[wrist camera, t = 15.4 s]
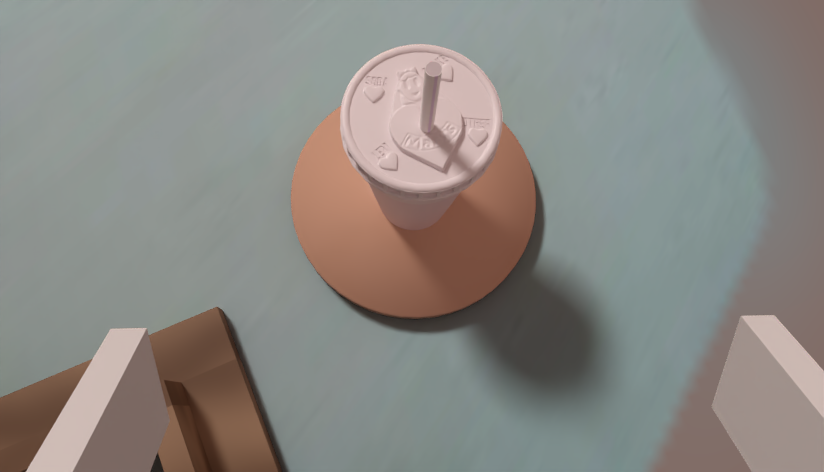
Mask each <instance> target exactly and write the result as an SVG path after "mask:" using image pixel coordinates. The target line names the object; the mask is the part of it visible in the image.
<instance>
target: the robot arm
mask: <svg viewBox="0 0 824 472" xmlns="http://www.w3.org/2000/svg"><path fill="white" fill-rule="evenodd" d="M712 408H713V410H714V411H715V413H716V415H717V416H718V418H719V419H720V421H721V423H722V424H723V426H724V427H725V429H726V431H727V432H728V434H729V436H730V437H731V439H732V440H733V442H734V444H735V445H736V447H737V448H738V450H739V452H740V453H741V455H742V457H743V458H744V460H745V461H746V463H747V465H748V466H749V468H750V469H751V471H752V472H824V371H823V370H822V369H821V368H820V366H819V365H818V364H817V363H816V362H815V361H814V360H813V358H812V357H811V356H810V355H809V354H808V353H807V352H806V351H805V350H804V349H803V347H802V346H801V345H800V344H799V343H798V342H797V340H796V339H795V338H794V337H793V336H792V335H791V334H790V333H789V331H788V330H787V329H786V328H785V327H784V326H783V325H782V324H781V323H780V321H779V320H778V319H777V318H776V317H775V316H774V315H762V316H741V317H740V320H739V323H738V326H737V329H736V332H735V335H734V339H733V342H732V345H731V348H730V351H729V354H728V357H727V360H726V363H725V367H724V370H723V373H722V376H721V379H720V382H719V385H718V388H717V391H716V394H715V398H714V401H713V404H712ZM169 422H170V419H169V415H168V411H167V407H166V403H165V399H164V395H163V391H162V387H161V383H160V379H159V375H158V371H157V367H156V363H155V359H154V355H153V351H152V347H151V343H150V339H149V335H148V331H147V328H126V329H110V331H109V333H108V334H107V336H106V338H105V339H104V341H103V343H102V344H101V346H100V348H99V349H98V351H97V353H96V354H95V356H94V358H93V359H92V361H91V363H90V365H89V366H88V368H87V370H86V371H85V373H84V375H83V376H82V378H81V380H80V381H79V383H78V385H77V386H76V388H75V390H74V392H73V393H72V395H71V397H70V398H69V400H68V402H67V403H66V405H65V407H64V408H63V410H62V412H61V413H60V415H59V417H58V418H57V420H56V422H55V424H54V425H53V427H52V429H51V430H50V432H49V434H48V435H47V437H46V439H45V440H44V442H43V444H42V445H41V447H40V449H39V450H38V452H37V454H36V456H35V457H34V459H33V461H32V462H31V464H30V466H29V467H28V469H27V471H26V472H150V471H151V468H152V466H153V463H154V460H155V458H156V455H157V453H158V450H159V447H160V445H161V442H162V440H163V437H164V434H165V432H166V429H167V427H168V424H169Z"/></svg>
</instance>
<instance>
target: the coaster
mask: <svg viewBox="0 0 824 472" xmlns="http://www.w3.org/2000/svg"><path fill="white" fill-rule="evenodd" d="M340 112H341V106H340V107H339V108H337V109H336V110H335V111H334V112H332V113H331V114H330V115H329V116H327V118H326V119H325V120H324V121H323V122H322V123H321V124H320V125H319V126H318V127H317V128H316V130H315V131H314V132H313V134H312V135H311V136H310V138H309V139H308V141H307V143H306V145H305V146H304V148H303V150H302V152H301V154H300V157H299V159H298V162H297V165H296V168H295V172H294V176H293V180H292V190H291V208H292V216H293V221H294V227H295V230H296V233H297V236H298V239H299V242H300V244H301V246H302V248H303V250H304V252H305V254H306V256H307V258H308V259H309V261H310V263H311V264H312V265H313V267H314V268H315V270H316V271H317V273H318V274H319V275H320V276H321V277H322V278H323V279H324V281H325V282H326V283H327V284H328V285H329V286H330V287H331V288H333V289H334V290H335V291H336V292H337V293H339V294H340V295H341V296H343V297H344V298H346V299H347V300H349V301H350V302H352V303H354V304H356V305H358V306H360V307H362V308H364V309H366V310H368V311H371V312H375V313H378V314H381V315H384V316H390V317H395V318H402V319H424V318H434V317H439V316H443V315H448V314H451V313H454V312H456V311H459V310H462V309H464V308H466V307H468V306H470V305H472V304H474V303H476V302H478V301H479V300H481V299H482V298H484V297H485V296H486V295H488V294H489V293H491V292H492V291H493V290H494V289H495V288H496V287H497V286H498V285H499V284H500V283H501V282H502V281H503V280H504V279H505V278H506V277H507V275H508V274H509V273H510V272H511V270H512V269H513V268H514V267H515V266H516V264H517V262H518V261H519V259H520V257H521V256H522V254H523V252H524V250H525V248H526V246H527V243H528V241H529V239H530V236H531V232H532V228H533V224H534V218H535V210H536V191H535V185H534V178H533V174H532V171H531V168H530V164H529V162H528V159H527V157H526V155H525V153H524V150H523V148H522V147H521V145H520V144H519V142H518V140H517V139H516V137H515V136H514V134H513V133H512V132H511V131H510V129H509V128H508V127H507V126H506V124H505V123H503V122H502V131H501V136H500V142H499V145H498V148H497V151H496V154H495V157H494V160H493V161H492V162H491V164H490V165H489V167H488V168H487V170H486V171H485V173H484V174H483V175H482V176H481V177H480V178H479V179H478V180H477V181H475V182H474V183H473V184H472V185H471V186H469V187H468V188H467V189H465V190H463V191H461V192H460V193H459V195H458V196H457V197H456V199H455V200H454V201H453V203H452V204H451V205H450V206H449V208H448V209H447V210H446V212H445V213H444V214H443V216H442V217H441V218H440V219H439V220H438V221H437V222H436V223H435V224H433V225H432V226H430V227H428V228H425V229H421V230H406V229H402V228H400V227H397V226H396V225H394V224H392V223H391V222H390V221H389V220H388V219H387V218H386V217H385V215H384V214H383V212H382V210H381V208H380V206H379V204H378V202H377V200H376V198H375V196H374V194H373V192H372V189H371V187H370V185H369V183H368V182H367V181H365V179H364V178H363V177H362V176H361V175H360V174H359V173H358V172H357V171H356V169H355V168H354V167H353V166H352V164H351V162H350V160H349V158H348V156H347V154H346V152H345V150H344V148H343V143H342V137H341V132H340Z"/></svg>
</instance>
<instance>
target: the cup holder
mask: <svg viewBox="0 0 824 472" xmlns="http://www.w3.org/2000/svg"><path fill="white" fill-rule="evenodd" d="M149 339H150V343H151V347H152V351H153V355H154V359H155V363H156V367H157V371H158V375H159V379H160V383H161V387H162V391H163V395H164V399H165V403H166V407H167V411H168V415H169V419H170V422H169V424H168V427H167V429H166V432H165V434H164V437H163V440H162V442H161V445H160V447H159V450H158V455H159V458H160V461H161V464H162V467H163V470H164V472H282V469H281V467H280V464H279V461H278V459H277V456H276V453H275V450H274V448H273V445H272V442H271V440H270V437H269V434H268V432H267V429H266V426H265V424H264V421H263V418H262V416H261V413H260V410H259V408H258V405H257V402H256V399H255V397H254V394H253V391H252V389H251V386H250V383H249V381H248V378H247V375H246V373H245V370H244V367H243V365H242V362H241V359H240V357H239V354H238V351H237V348H236V346H235V343H234V340H233V338H232V335H231V332H230V330H229V327H228V324H227V322H226V319H225V316H224V314H223V311H222V309H220V308H218V307H215V308H213V309H210V310H208V311H206V312H203V313H201V314H199V315H196V316H194V317H191V318H189V319H187V320H184V321H182V322H179V323H177V324H175V325H172V326H170V327H168V328H165V329H163V330H160V331H158V332H156V333H153V334H151V335H149ZM91 361H92V359H91V360H89V361H87V362H84V363H82V364H80V365H77V366H75V367H72V368H70V369H68V370H65V371H63V372H60V373H58V374H56V375H53V376H51V377H49V378H46V379H44V380H41V381H39V382H37V383H34V384H32V385H30V386H27V387H25V388H22V389H20V390H18V391H15V392H13V393H10V394H8V395H6V396H3V397H1V398H0V472H26V471H27V469H28V467H29V466H30V464H31V462H32V461H33V459H34V457H35V456H36V454H37V452H38V450H39V449H40V447H41V445H42V444H43V442H44V440H45V439H46V437H47V435H48V434H49V432H50V430H51V429H52V427H53V425H54V424H55V422H56V420H57V418H58V417H59V415H60V413H61V412H62V410H63V408H64V407H65V405H66V403H67V402H68V400H69V398H70V397H71V395H72V393H73V392H74V390H75V388H76V386H77V385H78V383H79V381H80V380H81V378H82V376H83V375H84V373H85V371H86V370H87V368H88V366H89V365H90V363H91Z"/></svg>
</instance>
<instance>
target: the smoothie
mask: <svg viewBox="0 0 824 472" xmlns="http://www.w3.org/2000/svg"><path fill="white" fill-rule="evenodd" d="M501 131H502V108H501V104H500V100H499V97H498V94H497V92H496V90H495V88H494V86H493V84H492V83H491V81H490V80H489V78H488V77H487V75H486V74H485V73H484V72H483V71H482V70H481V69H480V68H479V67H478V66H477V65H476V64H475V63H473V62H472V61H471V60H469V59H468V58H466V57H465V56H463V55H461V54H459V53H457V52H455V51H452V50H450V49H447V48H443V47H439V46H434V45H425V44H415V45H406V46H401V47H396V48H393V49H390V50H388V51H385V52H383V53H381V54H379V55H377V56H376V57H374V58H373V59H371V60H370V61H368V62H367V63H366V64H365V65H363V66H362V67H361V68H360V69H359V70H358V72H357V73H356V74H355V75H354V77H353V78H352V80H351V81H350V83H349V85H348V87H347V89H346V91H345V94H344V96H343V100H342V104H341V112H340V132H341V137H342V143H343V148H344V150H345V152H346V154H347V156H348V158H349V160H350V162H351V164H352V166H353V167H354V168H355V169H356V171H357V172H358V173H359V174H360V175H361V176H362V177H363V178H364V179H365V181H367V182H368V183H369V185H370V187H371V189H372V192H373V194H374V196H375V198H376V200H377V202H378V204H379V206H380V208H381V210H382V212H383V214H384V215H385V217H386V218H387V219H388V220H389V221H390V222H391V223H392V224H394V225H396V226H397V227H400V228H402V229H406V230H421V229H425V228H428V227H430V226H432V225H433V224H435V223H436V222H437V221H438V220H439V219H440V218H441V217H442V216H443V214H444V213H445V212H446V210H447V209H448V208H449V206H450V205H451V204H452V203H453V201H454V200H455V199H456V197H457V196H458V195H459V193H460V192H461V191H463V190H465V189H467V188H468V187H469V186H471V185H472V184H473V183H474V182H475V181H477V180H478V179H479V178H480V177H481V176H482V175H483V174H484V173H485V171H486V170H487V168H488V167H489V165H490V164H491V162H492V161H493V160H494V157H495V154H496V151H497V148H498V145H499V142H500V136H501Z"/></svg>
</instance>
